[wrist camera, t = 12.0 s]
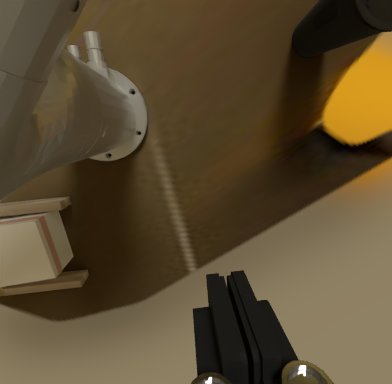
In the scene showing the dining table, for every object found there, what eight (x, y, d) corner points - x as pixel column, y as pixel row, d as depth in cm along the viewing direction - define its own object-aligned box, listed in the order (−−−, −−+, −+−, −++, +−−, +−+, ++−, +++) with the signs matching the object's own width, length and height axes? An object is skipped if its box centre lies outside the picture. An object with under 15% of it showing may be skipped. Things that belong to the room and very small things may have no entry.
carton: (-1, 214, 36) (-35, 231, 30) (58, 205, 36) (35, 220, 31) (20, 264, 39) (-8, 288, 33) (74, 256, 39) (56, 278, 33)
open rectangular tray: (-18, 204, 35) (-36, 211, 32) (69, 196, 36) (59, 202, 33) (10, 284, 39) (-3, 296, 36) (89, 275, 40) (81, 286, 37)
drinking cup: (312, 79, 34) (490, 15, 14) (271, 48, 32) (409, -71, 13) (346, 28, 32) (595, -119, 13) (305, -7, 31) (517, -234, 11)
